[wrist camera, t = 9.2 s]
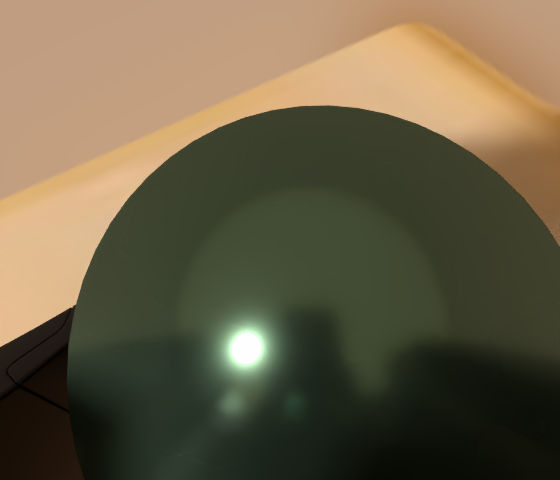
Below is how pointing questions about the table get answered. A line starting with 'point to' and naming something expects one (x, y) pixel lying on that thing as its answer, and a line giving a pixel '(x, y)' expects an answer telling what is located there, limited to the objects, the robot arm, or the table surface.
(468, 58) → the table surface
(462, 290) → the tea canister
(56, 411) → the robot arm
